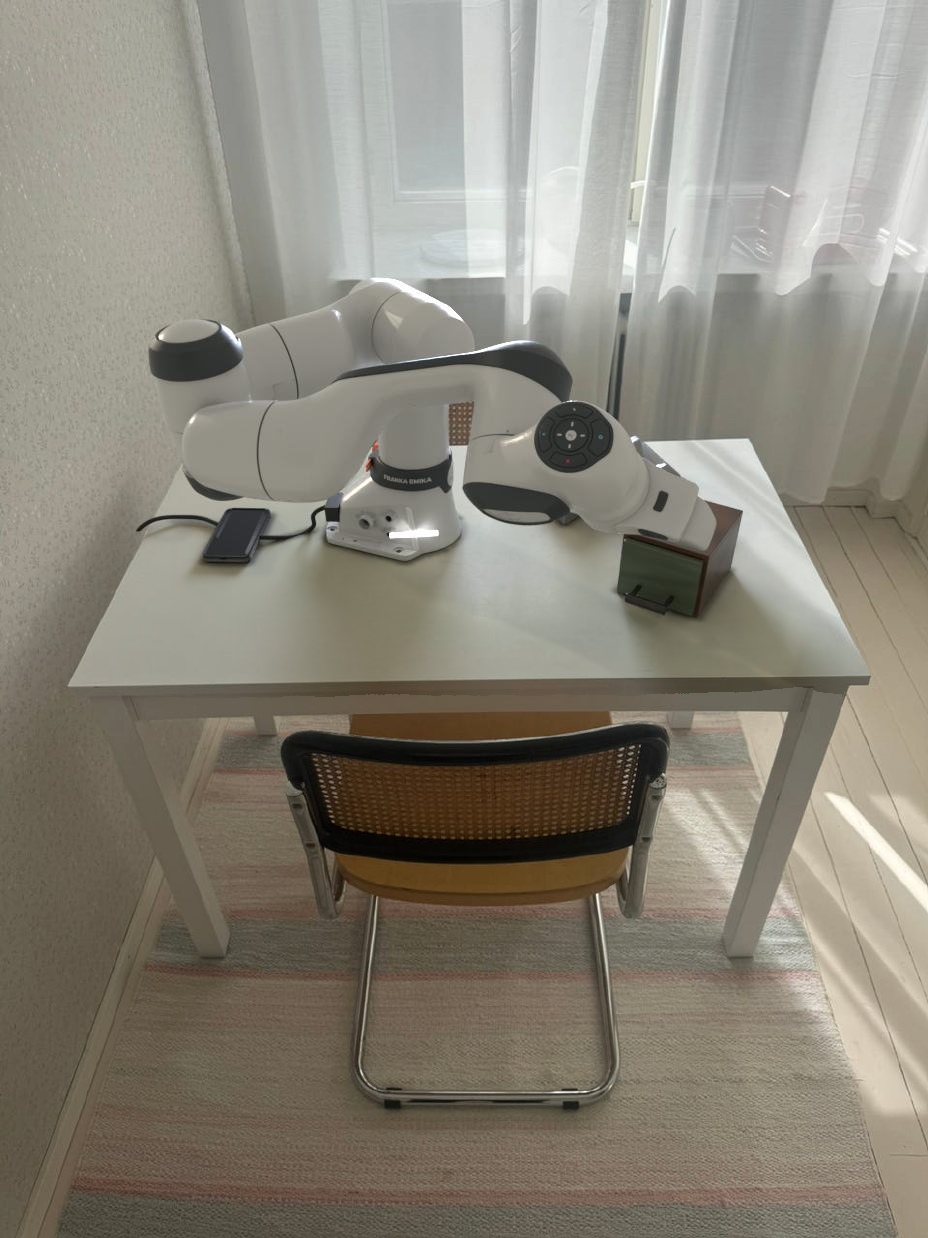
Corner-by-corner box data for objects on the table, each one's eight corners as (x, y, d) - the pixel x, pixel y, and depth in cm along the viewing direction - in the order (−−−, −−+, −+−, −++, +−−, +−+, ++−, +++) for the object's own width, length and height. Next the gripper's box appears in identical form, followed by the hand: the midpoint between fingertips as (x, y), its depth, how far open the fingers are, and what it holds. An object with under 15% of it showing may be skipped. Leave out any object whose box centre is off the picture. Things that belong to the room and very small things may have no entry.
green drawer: (680, 631, 116) (689, 579, 111) (605, 605, 121) (611, 554, 116) (722, 571, 127) (733, 521, 122) (652, 549, 132) (659, 501, 127)
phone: (271, 508, 144) (248, 556, 132) (272, 513, 145) (249, 562, 133) (226, 507, 144) (199, 555, 133) (227, 513, 145) (201, 561, 133)
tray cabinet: (697, 617, 120) (709, 556, 113) (616, 590, 125) (623, 530, 119) (730, 569, 129) (743, 510, 122) (654, 546, 135) (662, 488, 128)
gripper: (518, 492, 95) (555, 527, 108) (690, 543, 86) (708, 574, 99) (539, 441, 95) (573, 481, 108) (712, 487, 86) (728, 525, 99)
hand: (639, 526), depth 103 cm, fingers closed
